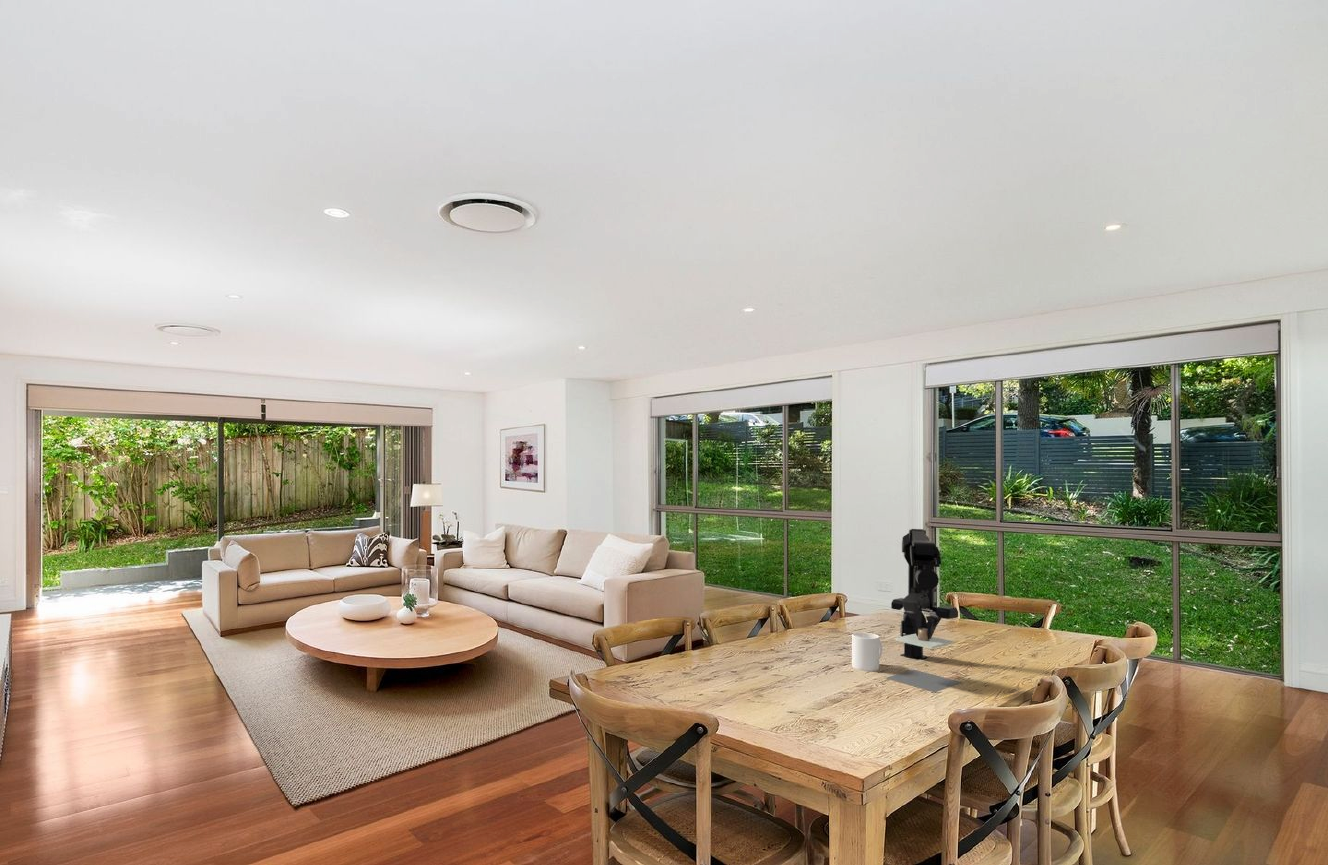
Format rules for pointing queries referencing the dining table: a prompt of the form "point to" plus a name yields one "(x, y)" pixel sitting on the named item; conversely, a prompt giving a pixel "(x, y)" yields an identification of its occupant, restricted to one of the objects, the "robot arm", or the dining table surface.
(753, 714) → the dining table surface
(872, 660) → the mug
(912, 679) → the mat
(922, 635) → the panel
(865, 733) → the dining table surface
